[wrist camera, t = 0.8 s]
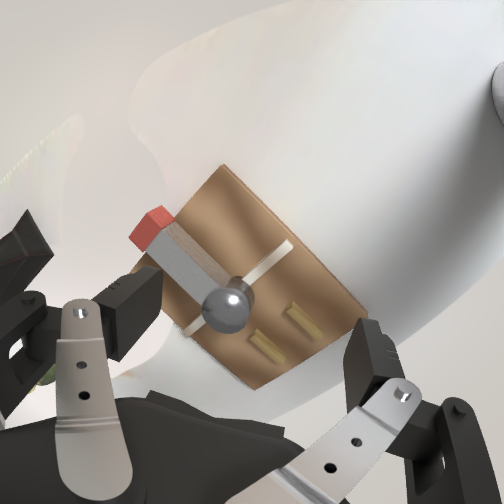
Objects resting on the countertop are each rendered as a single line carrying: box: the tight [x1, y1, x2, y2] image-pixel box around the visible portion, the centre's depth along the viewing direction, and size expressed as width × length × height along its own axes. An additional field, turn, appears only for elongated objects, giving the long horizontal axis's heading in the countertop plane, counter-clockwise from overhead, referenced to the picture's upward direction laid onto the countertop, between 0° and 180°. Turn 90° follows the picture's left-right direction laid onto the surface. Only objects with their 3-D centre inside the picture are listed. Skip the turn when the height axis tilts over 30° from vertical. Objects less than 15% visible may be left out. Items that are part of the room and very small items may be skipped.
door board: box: [129, 164, 368, 390], centre depth 34 cm, size 18×22×3 cm
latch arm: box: [129, 205, 255, 334], centre depth 30 cm, size 14×4×3 cm, turn 45°
